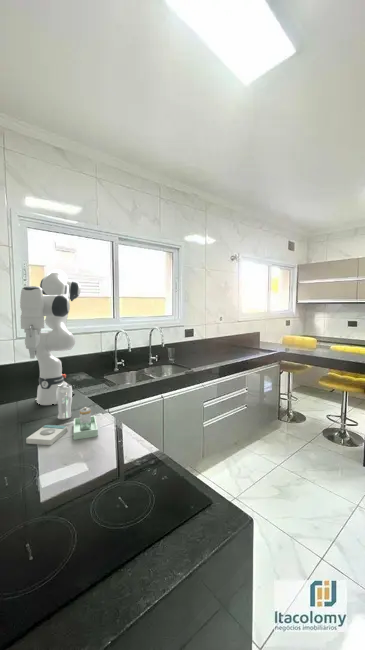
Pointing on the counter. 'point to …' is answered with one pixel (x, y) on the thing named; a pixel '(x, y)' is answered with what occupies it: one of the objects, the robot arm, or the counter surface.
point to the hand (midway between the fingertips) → (33, 356)
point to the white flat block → (46, 435)
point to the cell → (85, 419)
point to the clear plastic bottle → (64, 401)
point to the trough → (88, 433)
